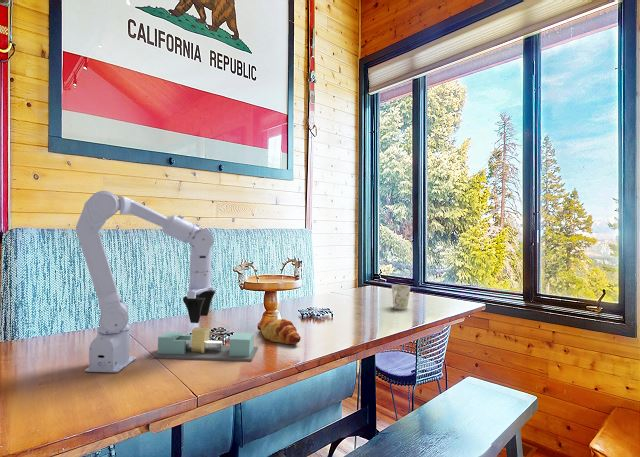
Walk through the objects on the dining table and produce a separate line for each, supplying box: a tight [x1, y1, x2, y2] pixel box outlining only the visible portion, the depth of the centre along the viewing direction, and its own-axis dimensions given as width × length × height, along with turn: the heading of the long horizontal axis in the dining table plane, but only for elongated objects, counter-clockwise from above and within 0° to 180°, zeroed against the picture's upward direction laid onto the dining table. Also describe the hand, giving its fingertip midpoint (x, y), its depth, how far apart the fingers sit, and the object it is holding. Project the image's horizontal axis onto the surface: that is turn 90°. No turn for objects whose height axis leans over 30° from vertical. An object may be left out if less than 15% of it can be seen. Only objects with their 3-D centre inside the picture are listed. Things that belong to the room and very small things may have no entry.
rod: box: [175, 326, 224, 353], centre depth 105 cm, size 16×5×6 cm, turn 90°
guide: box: [153, 330, 259, 362], centre depth 105 cm, size 26×10×5 cm, turn 90°
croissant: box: [260, 318, 302, 345], centre depth 121 cm, size 21×10×8 cm, turn 40°
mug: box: [391, 284, 411, 311], centre depth 168 cm, size 8×13×10 cm, turn 148°
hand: (199, 319), depth 105 cm, fingers open, 7 cm apart
